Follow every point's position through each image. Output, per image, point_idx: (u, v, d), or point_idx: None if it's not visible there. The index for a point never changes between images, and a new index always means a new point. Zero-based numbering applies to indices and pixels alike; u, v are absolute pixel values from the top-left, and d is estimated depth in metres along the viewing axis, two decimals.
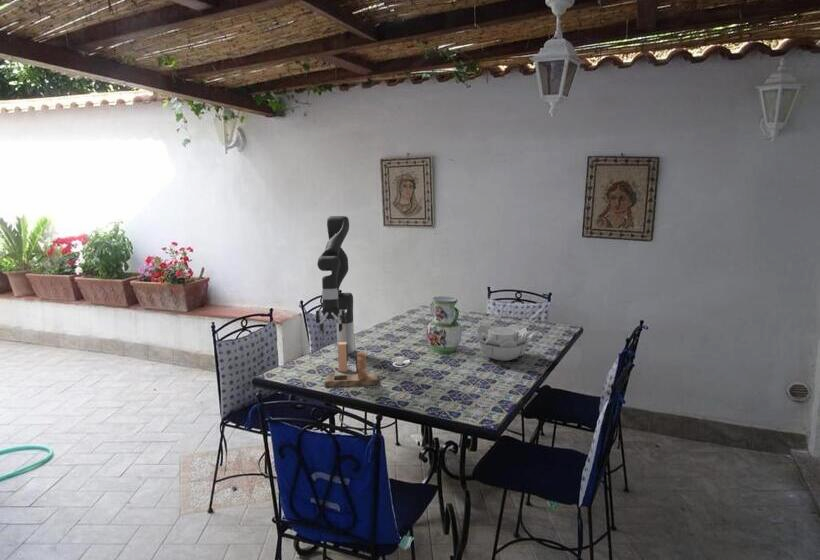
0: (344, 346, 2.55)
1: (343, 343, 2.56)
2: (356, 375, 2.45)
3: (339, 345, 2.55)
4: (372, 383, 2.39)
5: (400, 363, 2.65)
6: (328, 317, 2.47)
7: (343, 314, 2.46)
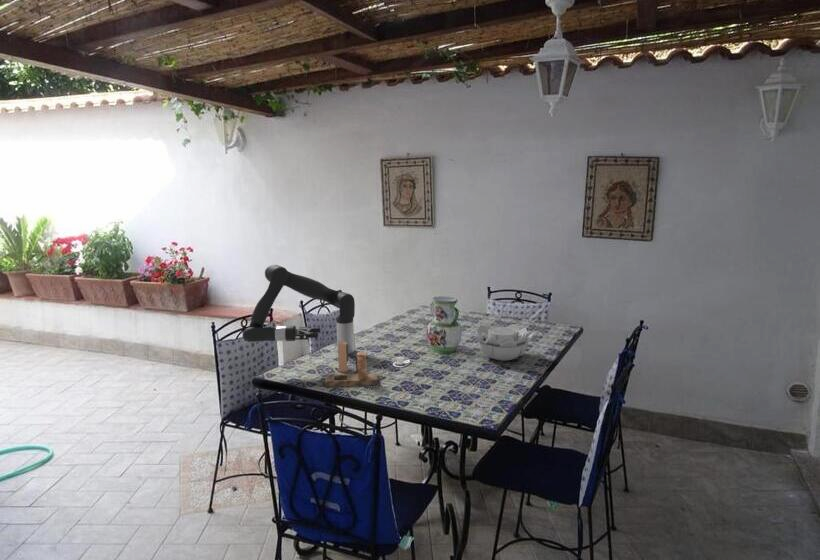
0: (344, 346, 2.55)
1: (343, 343, 2.56)
2: (356, 375, 2.45)
3: (339, 345, 2.55)
4: (372, 383, 2.39)
5: (400, 363, 2.65)
6: None
7: None
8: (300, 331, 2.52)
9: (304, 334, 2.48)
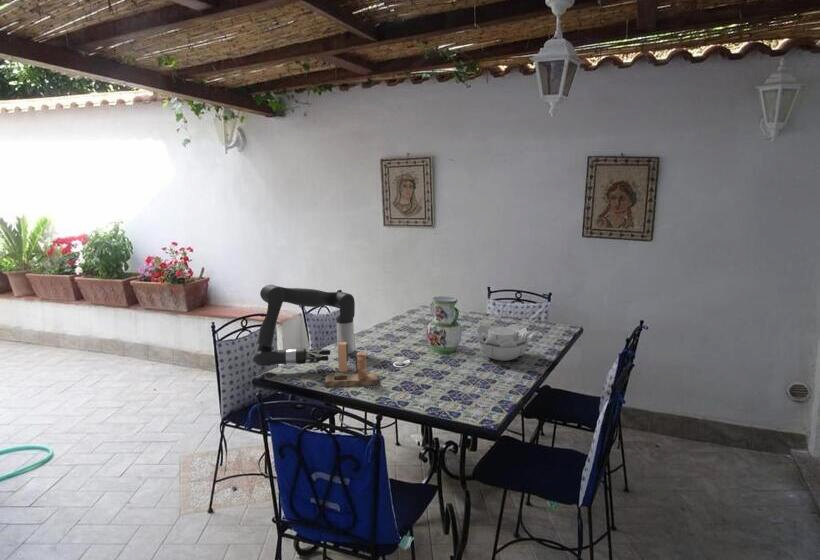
0: (344, 346, 2.55)
1: (343, 343, 2.56)
2: (356, 375, 2.45)
3: (339, 345, 2.55)
4: (372, 383, 2.39)
5: (400, 363, 2.65)
6: None
7: None
8: (310, 354, 2.55)
9: (314, 357, 2.50)
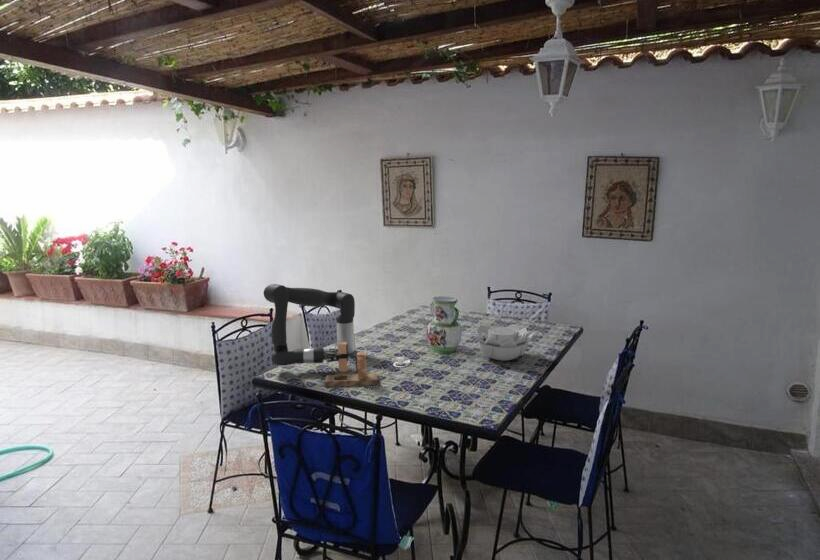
0: (344, 346, 2.55)
1: (343, 343, 2.56)
2: (356, 375, 2.45)
3: (339, 345, 2.55)
4: (372, 383, 2.39)
5: (400, 363, 2.65)
6: None
7: None
8: (329, 353, 2.55)
9: (335, 356, 2.52)
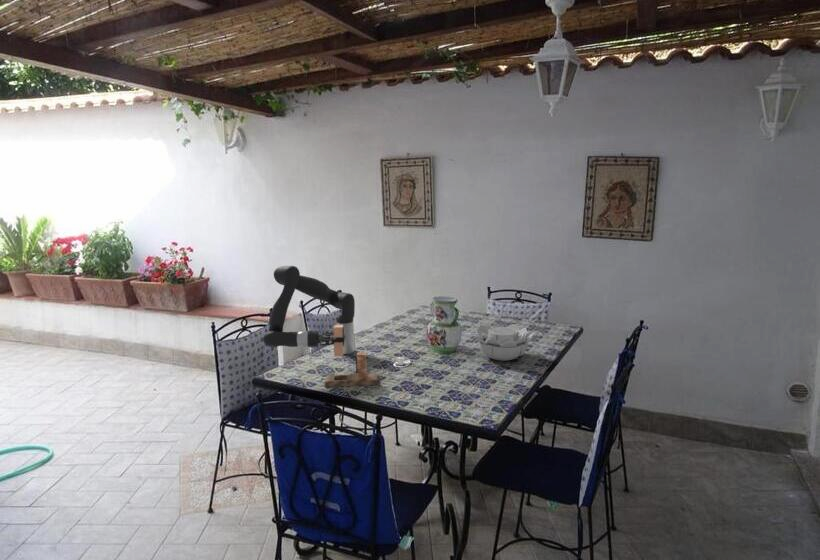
0: (340, 329, 2.41)
1: (339, 326, 2.42)
2: (356, 375, 2.45)
3: (335, 328, 2.41)
4: (372, 383, 2.39)
5: (401, 363, 2.65)
6: None
7: None
8: (324, 336, 2.41)
9: (330, 339, 2.38)
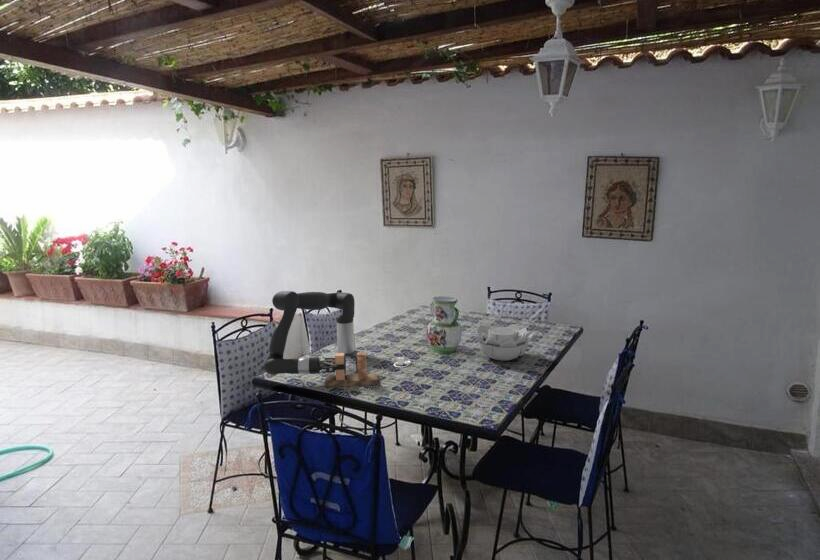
0: (342, 357, 2.38)
1: (341, 354, 2.40)
2: (356, 375, 2.45)
3: (336, 356, 2.38)
4: (372, 383, 2.39)
5: (401, 363, 2.65)
6: None
7: None
8: (325, 363, 2.38)
9: (331, 366, 2.35)
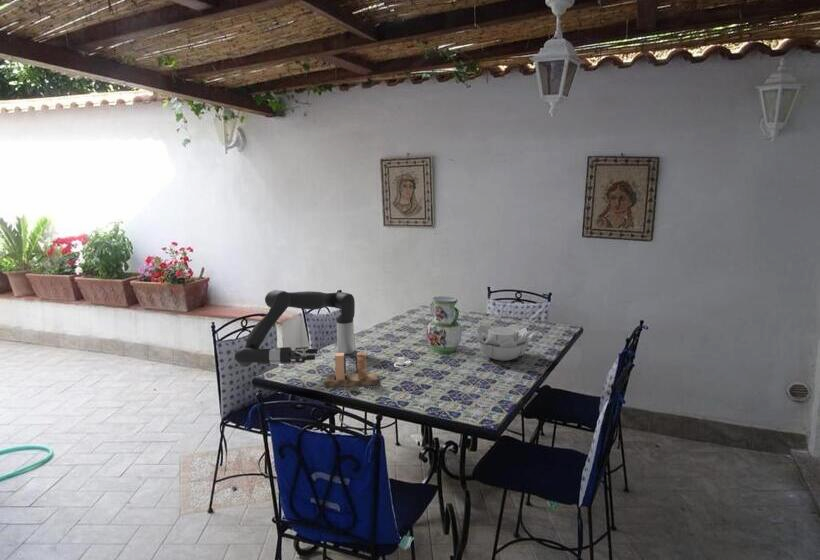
0: (342, 357, 2.38)
1: (340, 354, 2.40)
2: (356, 375, 2.45)
3: (336, 356, 2.38)
4: (372, 383, 2.39)
5: (401, 364, 2.64)
6: None
7: None
8: (296, 353, 2.37)
9: (300, 357, 2.32)
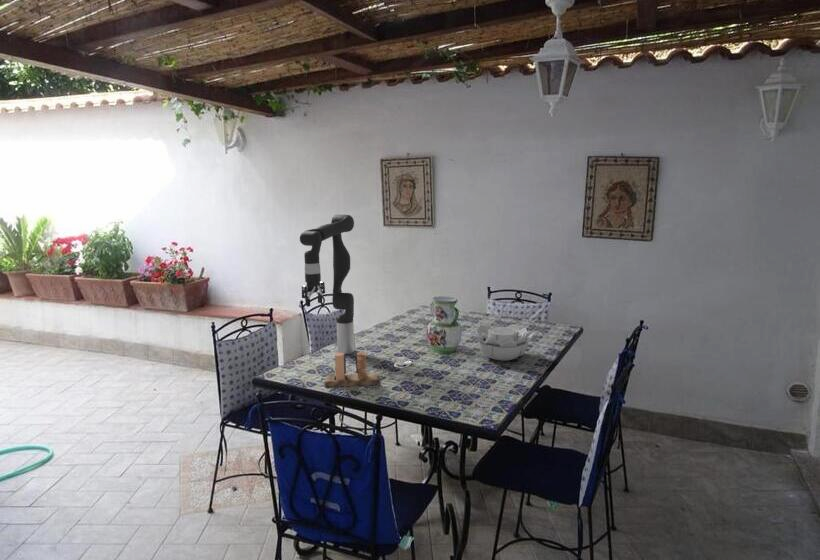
0: (341, 357, 2.38)
1: (340, 354, 2.40)
2: (356, 375, 2.45)
3: (336, 356, 2.38)
4: (372, 383, 2.39)
5: (401, 364, 2.64)
6: None
7: None
8: (312, 288, 2.52)
9: (306, 295, 2.49)
